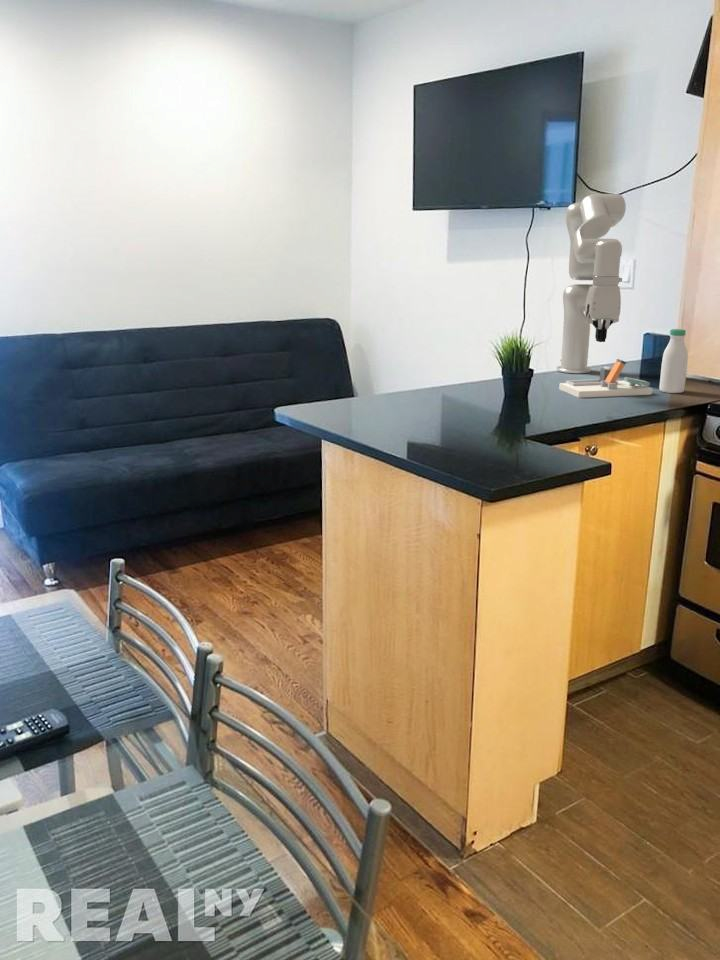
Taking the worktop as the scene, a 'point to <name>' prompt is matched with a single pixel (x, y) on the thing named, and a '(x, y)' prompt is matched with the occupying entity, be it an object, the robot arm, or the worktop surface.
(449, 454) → the worktop surface
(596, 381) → the panel
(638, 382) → the rocker
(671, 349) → the milk bottle
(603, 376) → the slider
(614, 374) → the lever
